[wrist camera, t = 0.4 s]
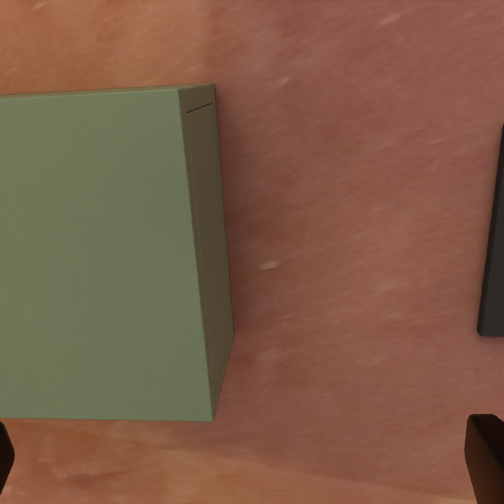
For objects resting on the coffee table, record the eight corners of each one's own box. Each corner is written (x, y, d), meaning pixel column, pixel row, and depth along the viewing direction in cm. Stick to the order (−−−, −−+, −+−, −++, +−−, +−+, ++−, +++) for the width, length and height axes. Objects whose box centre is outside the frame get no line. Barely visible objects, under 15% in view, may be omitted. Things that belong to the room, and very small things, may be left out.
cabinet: (-7, 336, 26) (-100, 416, 20) (-75, 99, 22) (-219, 110, 16) (234, 335, 25) (213, 422, 19) (214, 82, 21) (178, 88, 14)
